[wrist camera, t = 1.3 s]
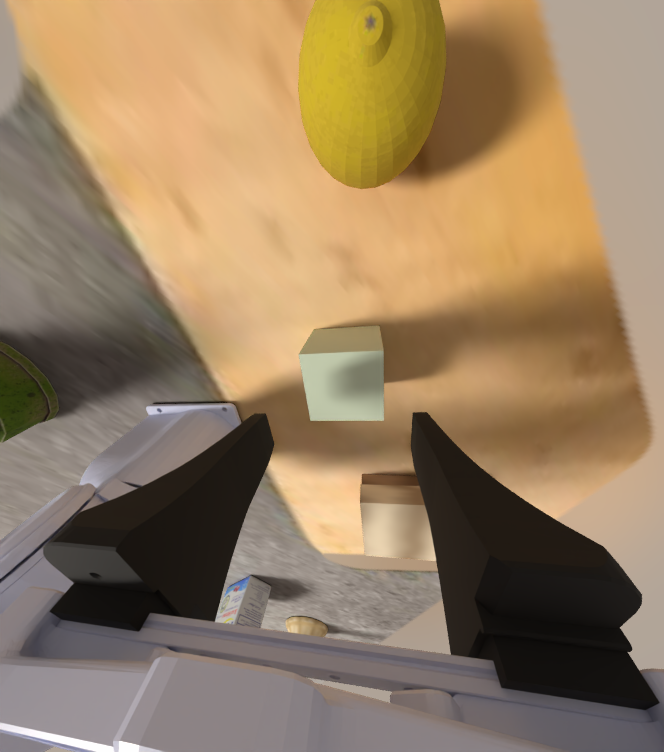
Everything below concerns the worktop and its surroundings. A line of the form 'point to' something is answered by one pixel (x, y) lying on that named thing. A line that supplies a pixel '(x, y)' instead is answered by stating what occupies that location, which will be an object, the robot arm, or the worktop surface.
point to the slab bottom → (389, 480)
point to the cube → (344, 374)
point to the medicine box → (244, 603)
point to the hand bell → (306, 626)
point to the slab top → (395, 522)
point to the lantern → (23, 394)
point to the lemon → (370, 85)
